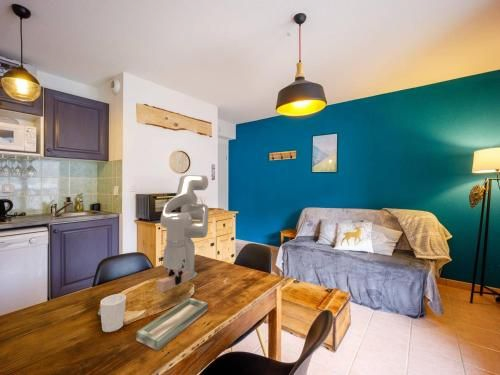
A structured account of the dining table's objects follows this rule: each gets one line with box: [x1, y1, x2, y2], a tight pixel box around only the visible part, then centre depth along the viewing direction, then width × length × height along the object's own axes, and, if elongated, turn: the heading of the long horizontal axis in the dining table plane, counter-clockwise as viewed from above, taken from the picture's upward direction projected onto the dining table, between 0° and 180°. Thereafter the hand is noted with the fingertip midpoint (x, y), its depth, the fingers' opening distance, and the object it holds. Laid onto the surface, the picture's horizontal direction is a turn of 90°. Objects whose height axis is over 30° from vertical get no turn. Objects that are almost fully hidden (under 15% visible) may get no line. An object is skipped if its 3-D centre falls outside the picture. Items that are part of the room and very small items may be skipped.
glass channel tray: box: [135, 297, 209, 352], centre depth 84 cm, size 10×26×3 cm, turn 154°
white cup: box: [100, 293, 127, 333], centre depth 81 cm, size 8×8×10 cm
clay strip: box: [156, 272, 190, 293], centre depth 101 cm, size 4×16×4 cm, turn 154°
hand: (174, 282), depth 101 cm, fingers closed on clay strip, 3 cm apart
